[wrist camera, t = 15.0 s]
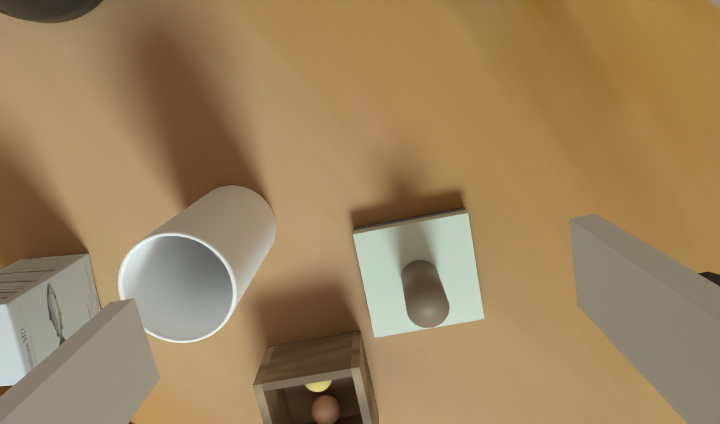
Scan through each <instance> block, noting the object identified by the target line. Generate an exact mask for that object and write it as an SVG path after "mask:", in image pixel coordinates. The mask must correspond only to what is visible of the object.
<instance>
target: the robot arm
mask: <svg viewBox="0 0 720 424" xmlns="http://www.w3.org/2000/svg"><path fill="white" fill-rule="evenodd" d="M102 1H103V0H0V13H3V14H5V15H8V16H11V17H14V18H18V19H23V20H28V21H34V22H40V23H60V22H65V21H69V20H73V19H76V18H78V17H81V16H83V15H85V14H86V13H88V12H90V11H91V10H93V9H94V8H95V7H96V6H98V5H99V4H100V3H101V2H102ZM569 225H570V235H571V245H572V255H573V264H574V274H575V284H576V294H577V304H578V307H579V308H580V309H581V310H582V311H583V312H584V313H585V314H586V315H587V316H588V317H589V318H590V319H591V320H592V322H593V323H594V324H595V325H596V326H597V327H598V328H599V329H600V330H601V331H602V332H603V333H604V334H605V335H606V337H607V338H608V339H609V340H610V341H611V342H612V343H613V344H614V345H615V346H616V347H617V348H618V349H619V350H620V352H621V353H622V354H623V355H624V356H625V357H626V358H627V359H628V360H629V361H630V362H631V363H632V364H633V365H634V367H635V368H636V369H637V370H638V371H639V372H640V373H641V374H642V375H643V376H644V377H645V378H646V379H647V380H648V382H649V383H650V384H651V385H652V386H653V387H654V388H655V389H656V390H657V391H658V392H659V393H660V394H661V395H662V397H663V398H664V399H665V400H666V401H667V402H668V403H669V404H670V405H671V406H672V407H673V408H674V409H675V410H676V412H677V413H678V414H679V415H680V416H681V417H682V418H683V419H684V420H685V421H686V422H687V423H688V424H720V275H718V274H715V273H711V272H704V273H696V272H694V271H693V270H691V269H689V268H687V267H686V266H684V265H682V264H681V263H679V262H677V261H675V260H674V259H672V258H670V257H669V256H667V255H665V254H663V253H662V252H660V251H658V250H657V249H655V248H653V247H652V246H650V245H648V244H646V243H645V242H643V241H641V240H640V239H638V238H636V237H634V236H633V235H631V234H629V233H628V232H626V231H624V230H622V229H621V228H619V227H617V226H616V225H614V224H612V223H610V222H609V221H607V220H605V219H604V218H602V217H600V216H599V215H597V214H592V215H587V216H581V217H576V218H570V219H569ZM159 378H160V376H159V373H158V370H157V367H156V364H155V361H154V358H153V354H152V351H151V348H150V345H149V342H148V339H147V336H146V333H145V330H144V327H143V324H142V321H141V318H140V315H139V312H138V309H137V306H136V303H135V300H134V298H132V299H126V300H121V301H115V302H110V303H109V304H108V305H106V306H105V307H104V308H103V309H102V310H101V311H100V312H98V313H97V314H96V315H95V316H94V317H93V318H91V319H90V320H89V321H88V322H87V323H86V324H84V325H83V326H82V327H81V328H80V329H79V330H77V331H76V332H75V333H74V334H73V335H72V336H71V337H69V338H68V339H67V340H66V341H65V342H64V343H62V344H61V345H60V346H59V347H58V348H57V349H55V350H54V351H53V352H52V353H51V354H50V355H48V356H47V357H46V358H45V359H44V360H43V361H42V362H40V363H39V364H38V365H37V366H36V367H35V368H33V369H32V370H31V371H30V372H29V373H28V374H26V375H25V376H24V377H23V378H22V379H21V380H19V381H18V382H17V383H16V384H15V385H14V386H13V387H11V388H10V389H9V390H8V391H7V392H6V393H5V394H3V395H2V396H1V397H0V424H128V423H129V421H130V420H131V418H132V417H133V415H134V414H135V413H136V411H137V410H138V408H139V407H140V405H141V404H142V403H143V401H144V400H145V398H146V397H147V395H148V394H149V393H150V391H151V390H152V388H153V387H154V385H155V384H156V383H157V381H158V380H159Z"/></svg>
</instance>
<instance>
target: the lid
mask: <svg viewBox="0 0 720 424" xmlns="http://www.w3.org/2000/svg"><path fill="white" fill-rule="evenodd" d="M353 237H354V242H355V247H356V251H357V256H358V261H359V266H360V270H361V275H362V280H363V285H364V289H365V294H366V299H367V304H368V308H369V313H370V318H371V323H372V327H373V332H374V337H375V338H376V337H382V336H388V335H394V334H399V333H405V332H411V331H417V330H422V329H428V328H434V327H440V326H446V325H451V324H457V323H463V322H469V321H474V320H480V319H484V315H483V308H482V301H481V295H480V288H479V282H478V275H477V269H476V262H475V255H474V249H473V242H472V236H471V229H470V223H469V216H468V212H467V211H466V210H462V211H457V212H451V213H446V214H441V215H435V216H430V217H424V218H419V219H414V220H408V221H403V222H398V223H392V224H387V225H382V226H376V227H371V228H366V229H360V230H355V231H353Z"/></svg>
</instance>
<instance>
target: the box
mask: <svg viewBox="0 0 720 424" xmlns="http://www.w3.org/2000/svg"><path fill="white" fill-rule="evenodd" d="M328 380H332V382H331V384H330V386H329V387H328V388H327V389H325V390H324V391H321V392H314V391H311V390H309V389H308V388H307V387H306V386H305V384H310V383H316V382H322V381H328ZM253 387H254V391H255V395H256V398H257V402H258V405H259V409H260V412H261V416H262V419H263V423H264V424H318V423H317V422H316V421H315V420H314V419H313V416H312V412H311V410H312V405H313V403H314V401H315V400H316V399H317V398H318V397H320V396H322V395H330V396H333V397H334V398H336V399H337V401H338V402H339V404H340V416H339V418H338V419H337V421H336V422H335V423H333V424H379V416H378V409H377V405H376V400H375V395H374V391H373V386H372V382H371V377H370V372H369V368H368V363H367V359H366V354H365V349H364V345H363V340H362V336H361V331H357V332H351V333H346V334H340V335H334V336H328V337H323V338H317V339H311V340H305V341H300V342H294V343H288V344H283V345H277V346H271V347H267V349H266V352H265V355H264V357H263V360H262V363H261V365H260V368H259V370H258V373H257V376H256V378H255V381H254V384H253Z"/></svg>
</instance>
